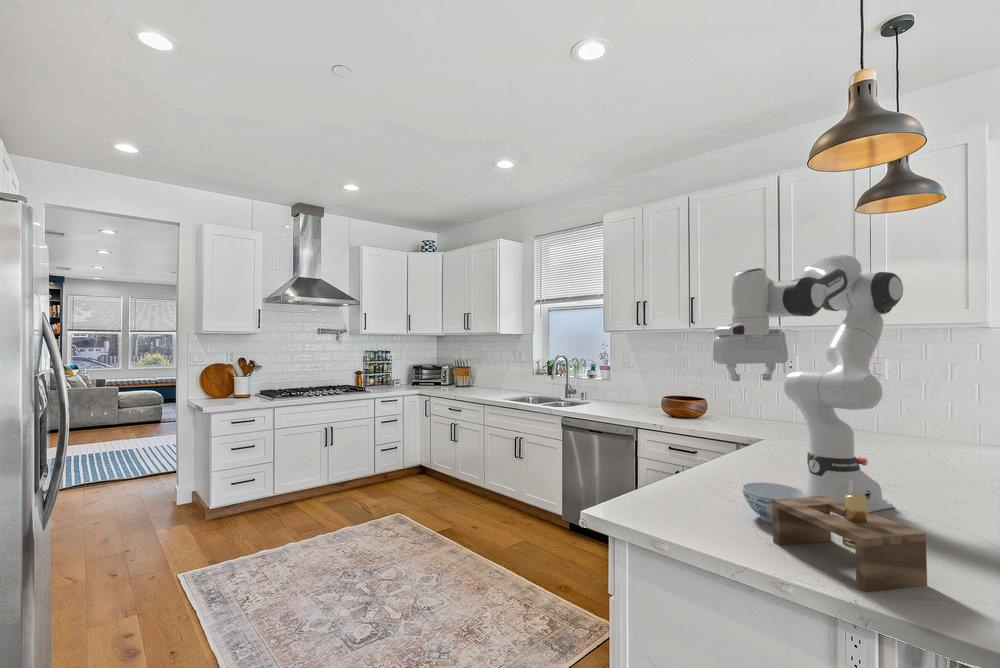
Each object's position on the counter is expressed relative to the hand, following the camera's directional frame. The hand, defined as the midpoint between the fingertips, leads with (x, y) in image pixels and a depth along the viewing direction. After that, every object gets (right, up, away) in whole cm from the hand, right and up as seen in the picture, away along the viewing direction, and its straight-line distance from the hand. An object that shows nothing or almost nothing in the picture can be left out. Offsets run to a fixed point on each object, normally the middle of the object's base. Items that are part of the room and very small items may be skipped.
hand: (751, 380), depth 130 cm
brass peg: (+7, -32, -28) cm, 43 cm away
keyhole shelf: (+7, -37, -25) cm, 45 cm away
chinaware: (+6, -37, 0) cm, 38 cm away
